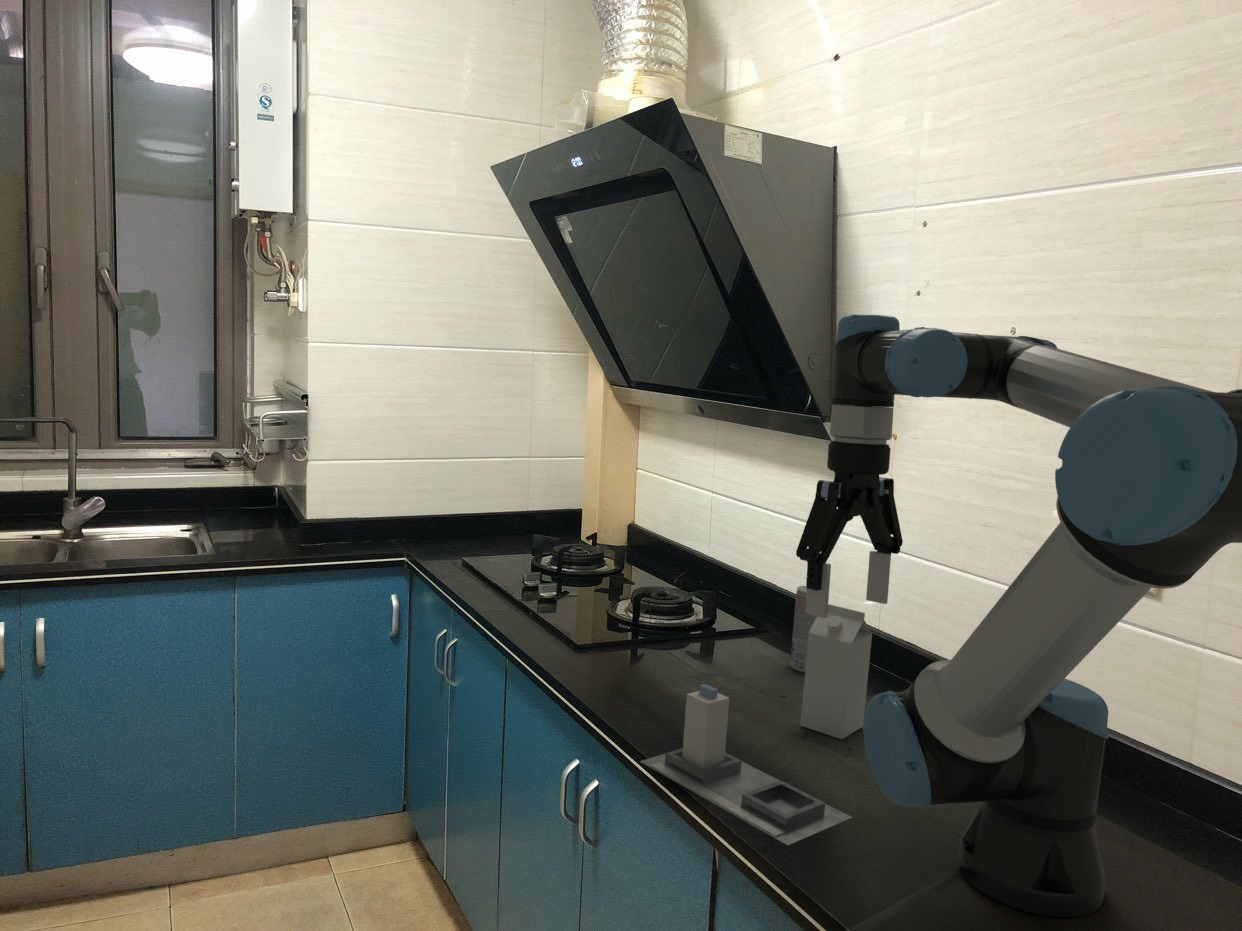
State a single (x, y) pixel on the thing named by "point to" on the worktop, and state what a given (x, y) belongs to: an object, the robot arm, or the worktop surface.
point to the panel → (752, 796)
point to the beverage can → (800, 631)
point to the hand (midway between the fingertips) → (847, 608)
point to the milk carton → (836, 673)
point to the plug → (705, 727)
